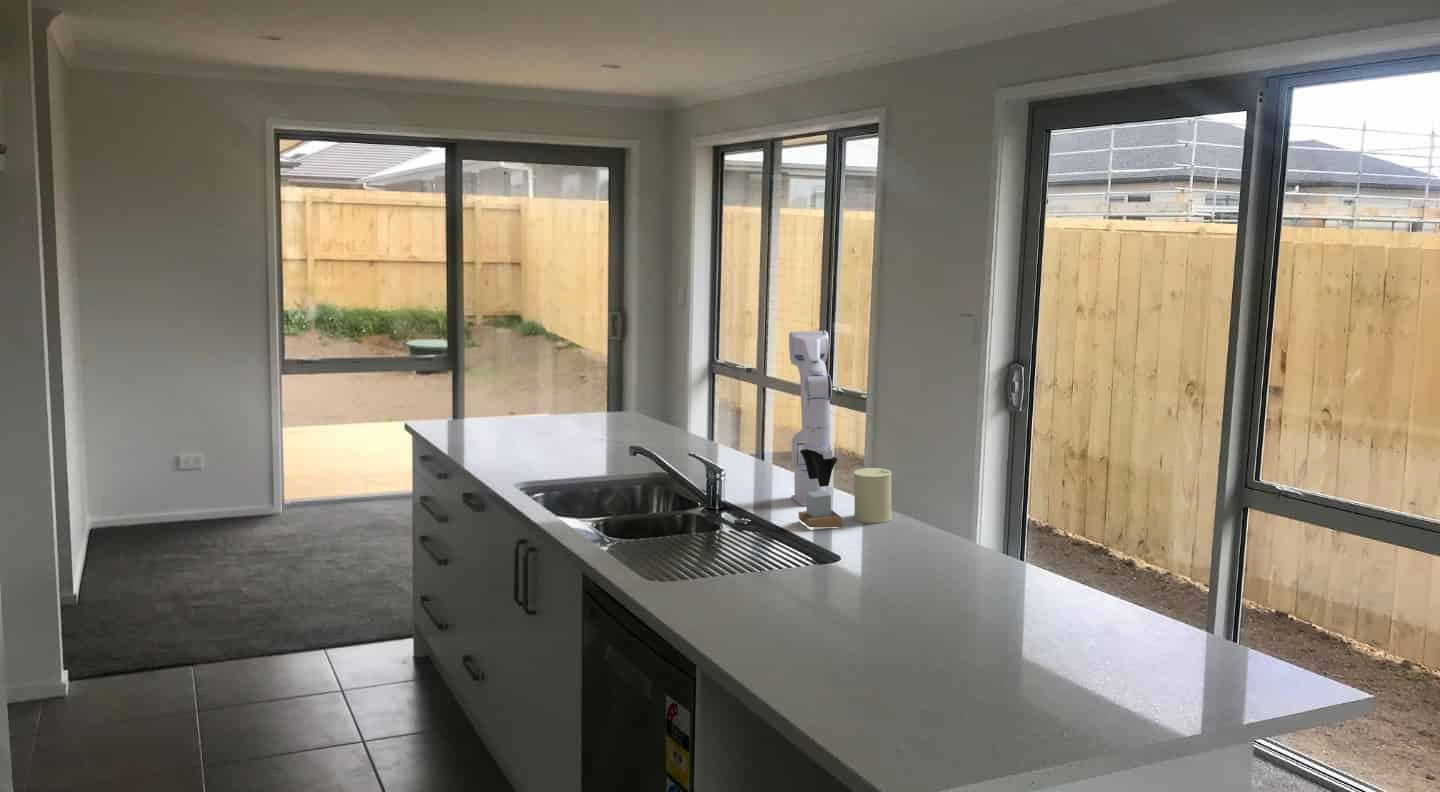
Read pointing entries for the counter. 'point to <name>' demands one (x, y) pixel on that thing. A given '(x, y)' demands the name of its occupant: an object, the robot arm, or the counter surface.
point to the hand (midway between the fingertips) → (818, 482)
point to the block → (818, 504)
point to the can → (872, 495)
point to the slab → (821, 520)
